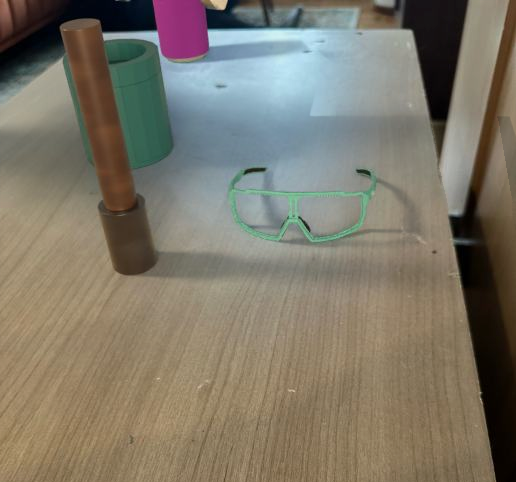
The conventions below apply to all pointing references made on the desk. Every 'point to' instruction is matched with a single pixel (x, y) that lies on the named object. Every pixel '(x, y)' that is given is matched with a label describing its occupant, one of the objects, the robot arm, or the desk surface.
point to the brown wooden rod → (108, 150)
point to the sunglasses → (295, 196)
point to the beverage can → (181, 29)
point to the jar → (135, 100)
